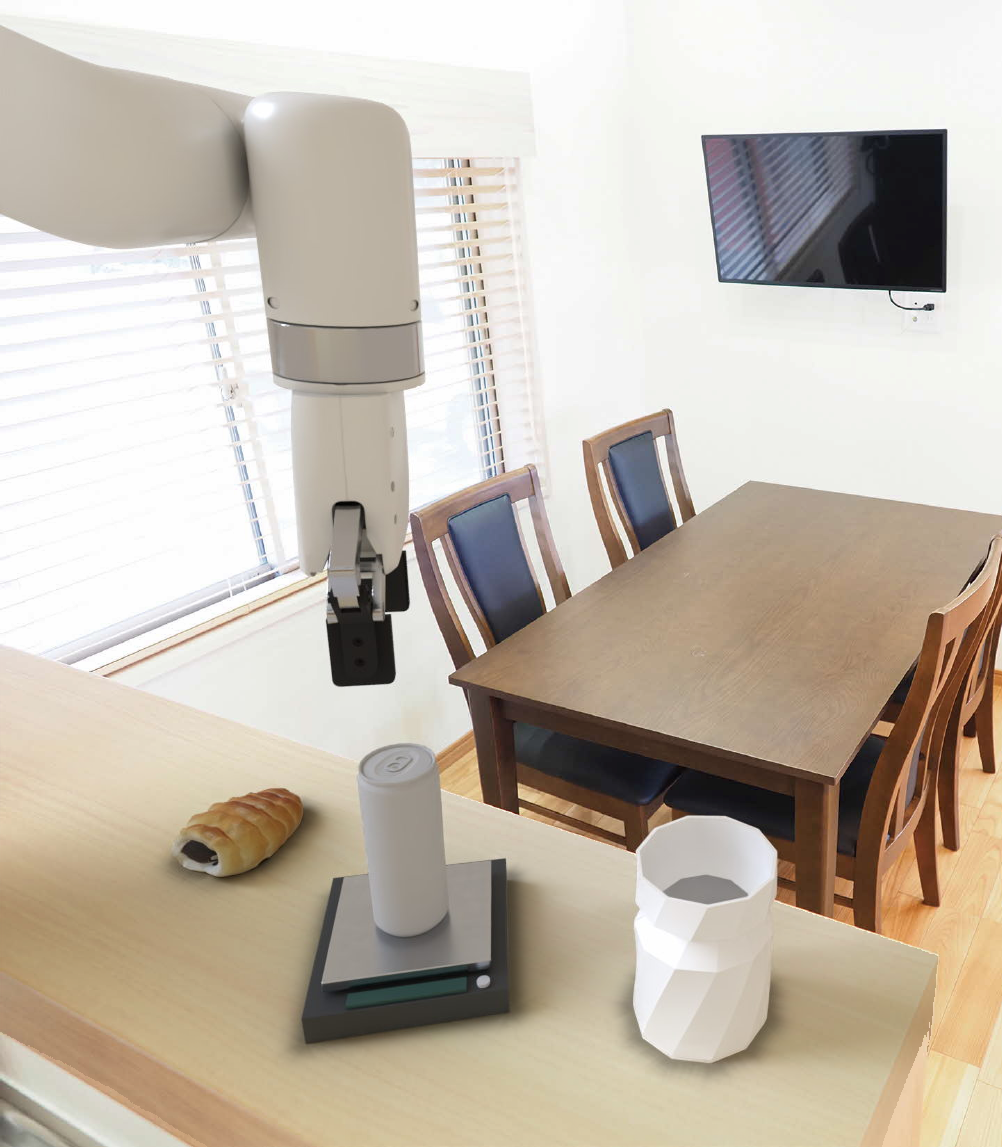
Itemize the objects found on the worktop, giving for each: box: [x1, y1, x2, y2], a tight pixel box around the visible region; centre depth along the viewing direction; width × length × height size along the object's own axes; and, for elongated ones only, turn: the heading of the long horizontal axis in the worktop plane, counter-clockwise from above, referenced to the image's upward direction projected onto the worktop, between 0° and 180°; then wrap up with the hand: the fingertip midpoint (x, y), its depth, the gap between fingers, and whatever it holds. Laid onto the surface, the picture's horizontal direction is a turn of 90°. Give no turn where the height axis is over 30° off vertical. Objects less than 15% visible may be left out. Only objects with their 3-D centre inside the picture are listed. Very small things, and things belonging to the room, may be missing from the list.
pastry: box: [170, 787, 304, 878], centre depth 75 cm, size 9×7×4 cm
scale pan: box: [321, 860, 492, 992], centre depth 65 cm, size 10×10×1 cm
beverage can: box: [356, 742, 449, 937], centre depth 63 cm, size 5×5×12 cm
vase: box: [632, 815, 778, 1064], centre depth 61 cm, size 9×9×12 cm
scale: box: [300, 857, 511, 1045], centre depth 66 cm, size 12×13×2 cm
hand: (375, 644), depth 58 cm, fingers open, 9 cm apart
